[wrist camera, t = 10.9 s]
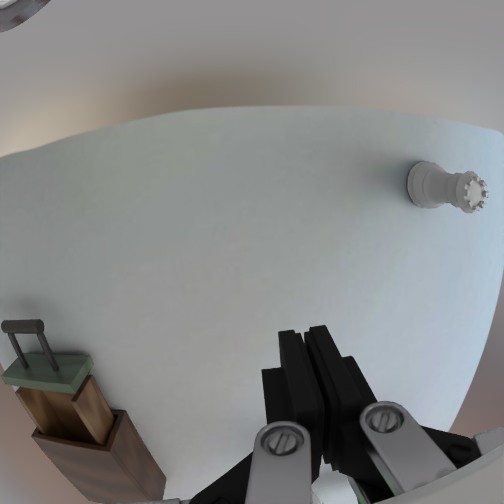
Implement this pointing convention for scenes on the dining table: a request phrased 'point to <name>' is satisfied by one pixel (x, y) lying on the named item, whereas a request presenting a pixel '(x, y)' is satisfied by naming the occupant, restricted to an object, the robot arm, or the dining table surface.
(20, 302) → the dining table surface
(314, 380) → the robot arm
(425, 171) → the rook chess piece
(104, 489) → the cabinet
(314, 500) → the tray
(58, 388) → the drawer
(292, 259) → the dining table surface
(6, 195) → the dining table surface
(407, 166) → the dining table surface
